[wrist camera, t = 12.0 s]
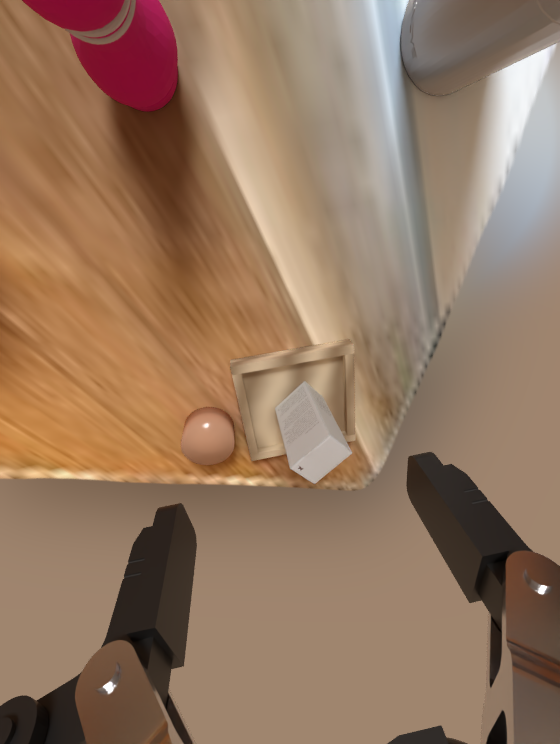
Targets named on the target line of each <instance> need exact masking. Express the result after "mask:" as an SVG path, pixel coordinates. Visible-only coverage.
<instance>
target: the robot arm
mask: <svg viewBox="0 0 560 744" xmlns="http://www.w3.org/2000/svg"><path fill="white" fill-rule="evenodd" d="M558 42H560V0H409V2H408V4H407V7H406V11H405V15H404V18H403V23H402V32H401V51H402V56H403V61H404V65H405V68H406V70H407V73H408V75H409V77H410V78H411V80H412V81H413V83H414V84H415V85H416V86H417V87H418V88H419V89H420V90H422V91H424V92H426V93H428V94H430V95H437V96H441V95H448V94H450V93H453V92H455V91H458V90H460V89H462V88H464V87H466V86H468V85H470V84H472V83H474V82H476V81H479V80H481V79H483V78H485V77H487V76H489V75H491V74H493V73H495V72H497V71H500V70H502V69H504V68H506V67H508V66H510V65H512V64H514V63H516V62H518V61H520V60H522V59H524V58H527V57H529V56H531V55H533V54H535V53H537V52H539V51H541V50H543V49H545V48H547V47H549V46H551V45H553V44H556V43H558ZM407 492H408V495H409V498H410V500H411V503H412V505H413V506H414V508H415V509H416V511H417V513H418V515H419V517H420V518H421V520H422V522H423V524H424V525H425V527H426V529H427V530H428V532H429V534H430V536H431V537H432V538H433V541H434V543H435V544H436V546H437V548H438V549H439V551H440V553H441V554H442V556H443V558H444V560H445V562H446V563H447V565H448V567H449V568H450V570H451V572H452V574H453V575H454V577H455V579H456V580H457V582H458V584H459V585H460V587H461V589H462V591H463V592H464V594H465V596H466V598H467V599H468V601H469V603H472V602H476V601H481V600H482V601H483V603H484V604H485V606H486V608H487V609H488V611H489V614H488V640H487V671H486V693H485V701H484V706H483V714H482V727H481V729H482V730H481V744H560V566H559V565H557V564H556V563H555V562H553V561H552V560H550V559H549V558H547V557H545V556H543V555H541V554H538V553H535V552H533V551H532V550H531V549H530V548H528V546H527V545H526V544H525V543H524V542H523V541H522V540H521V538H520V537H519V536H518V535H517V534H516V532H515V531H514V530H513V529H512V528H511V526H510V525H509V524H508V523H507V522H506V520H505V519H504V518H503V517H502V516H501V515H500V513H499V512H498V511H497V510H496V508H495V507H494V506H493V505H492V504H491V503H490V501H488V500H487V498H486V497H485V496H484V494H483V493H482V492H481V491H480V490H478V487H477V486H476V485H475V483H474V482H473V481H472V480H471V479H470V477H469V476H468V475H467V474H466V473H464V472H463V471H461V470H459V469H458V468H457V467H455V466H454V465H452V464H449V465H444V466H443V464H442V463H441V462H440V460H439V459H438V458H437V457H436V455H435V454H434V453H432V452H427V453H422V454H418V455H413V456H409V458H408V471H407ZM196 547H197V543H196V534H195V530H194V528H193V526H192V523H191V521H190V519H189V517H188V515H187V513H186V511H185V508H184V506H183V505H182V504H181V503H179V504H175V505H170V506H165V507H160V508H158V510H157V512H156V515H155V519H154V523H153V526H151V527H146V528H143V530H142V531H141V533H140V535H139V536H138V537H137V539H136V541H135V542H134V544H133V547H132V550H131V553H130V557H129V560H128V565H127V568H126V571H125V574H124V579H123V581H122V584H121V588H120V591H119V594H118V598H117V602H116V605H115V608H114V612H113V615H112V618H111V622H110V626H109V629H108V632H107V636H106V638H105V641H104V643H103V645H102V647H101V649H99V650H98V651H97V652H96V653H95V654H94V655H93V656H92V657H91V659H90V660H89V661H88V663H87V664H86V666H85V667H84V669H83V671H82V672H81V673H80V674H79V675H78V676H76V677H75V678H73V679H72V680H70V681H68V682H67V683H65V684H63V685H62V686H60V687H59V688H57V689H55V690H54V691H52V692H50V693H49V694H47V695H45V696H44V697H42V698H40V699H39V700H37V701H36V700H34V699H33V698H31V697H29V696H18V697H15V698H13V699H11V700H9V701H7V702H6V703H4V704H3V705H1V706H0V744H196V742H195V740H194V738H193V736H192V734H191V732H190V730H189V728H188V726H187V724H186V722H185V720H184V718H183V716H182V714H181V712H180V710H179V708H178V706H177V704H176V702H175V700H174V698H173V696H172V694H171V692H170V690H169V681H170V673H171V669H174V668H178V667H182V666H184V659H185V650H186V641H187V631H188V622H189V613H190V604H191V594H192V585H193V576H194V566H195V557H196ZM388 744H467V743H465V742H462V741H459V740H456V739H452V738H446V736H445V734H444V731H443V728H442V726H437V727H433V728H428V729H424V730H420V731H416V732H412V733H408V734H403V735H399V736H398V737H396V738H395V739H393V740H392V741H391V742H389V743H388Z"/></svg>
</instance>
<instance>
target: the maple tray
mask: <svg viewBox="0 0 560 744" xmlns="http://www.w3.org/2000/svg"><path fill="white" fill-rule="evenodd" d="M230 368H231V373H232V377H233V382H234V386H235V390H236V395H237V399H238V404H239V408H240V412H241V417H242V421H243V426H244V430H245V435H246V439H247V443H248V448H249V452H250V457H251V461H255V460H260V459H265V458H270V457H275V456H280V455H285V454H286V450H285V446H284V443H283V439H282V435H281V431H280V427H279V423H278V419H277V415H276V411H275V408H276V407H277V406H278V405H279V404H280V403H281V402H282V401H283V400H284V399H285V398H287V397H288V396H289V395H290V394H291V393H292V392H293V391H294V390H295V389H296V388H297V387H298V386H299V385H301V384H302V383H303V382H304V381H305V382H307V383H308V384H309V385H310V386H311V387H312V388H313V389H315V390H316V391H317V392H318V393H319V394H320V395H322V396H323V398H324V400H325V402H326V403H327V405H328V407H329V409H330V411H331V413H332V415H333V417H334V419H335V421H336V423H337V425H338V426H339V428H340V430H341V432H342V434H343V436H344V438H345V440H346V442H350V441H355V376H354V344H353V343H352V342H351V341H350V340H349V339H347V340H341V341H336V342H330V343H324V344H319V345H313V346H307V347H302V348H296V349H290V350H285V351H279V352H273V353H268V354H262V355H256V356H250V357H245V358H239V359H233V360H230Z"/></svg>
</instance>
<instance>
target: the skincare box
mask: <svg viewBox="0 0 560 744" xmlns="http://www.w3.org/2000/svg"><path fill="white" fill-rule="evenodd" d="M275 411H276V415H277V419H278V423H279V427H280V431H281V435H282V439H283V443H284V446H285V450H286V454H287V458H288V462H289V466H290V469H291V470H293V471H295V472H296V473H298V474H299V475H301V476H302V477H304V478H306V479H307V480H309V481H310V482H312V483H313V484H316V483H317V482H318V481H319V480H320V479H321V478H323V477H324V476H325V475H326V474H327V473H329V472H330V471H331V470H332V469H334V468H335V467H336V466H337V465H338V464H340V463H341V462H342V461H343V460H345V459H346V458H347V457H348V456H349V455H351V454H352V451H351V449H350V447H349V445H348V444H347V442H346V440H345V438H344V436H343V434H342V432H341V430H340V428H339V426H338V425H337V423H336V421H335V419H334V417H333V415H332V413H331V411H330V409H329V407H328V405H327V403H326V402H325V400H324V398H323V396H322V395H320V394H319V393H318V392H317V391H316V390H315V389H313V388H312V387H311V386H310V385H309V384H308V383H307V382H305V381H304V382H303V383H302V384H301V385H299V386H298V387H297V388H296V389H295V390H294V391H293V392H292V393H291V394H290V395H289V396H288V397H287V398H285V399H284V400H283V401H282V402H281V403H280V404H279V405H278V406H277V407H276V408H275Z"/></svg>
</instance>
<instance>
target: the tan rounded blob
mask: <svg viewBox="0 0 560 744" xmlns="http://www.w3.org/2000/svg"><path fill="white" fill-rule="evenodd" d="M181 449H182V452H183V454H184V455H185V456H186V457H187V458H188V459H189V460H190V461H192V462H194V463H197V464H201V465H213V464H217V463H220V462H222V461H224V460H226V459H227V458H228V457H229V456H230V455H231V454H232V452H233V450H234V423H233V420H232V418H231V417H230V415H229V414H228V413H226V412H225V411H223V410H221V409H218V408H214V407H205V408H200V409H197V410H195V411H194V412H192V413H191V414H190V415H189V416H188V417H187V419H186V421H185V424H184V430H183V435H182V440H181Z"/></svg>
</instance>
